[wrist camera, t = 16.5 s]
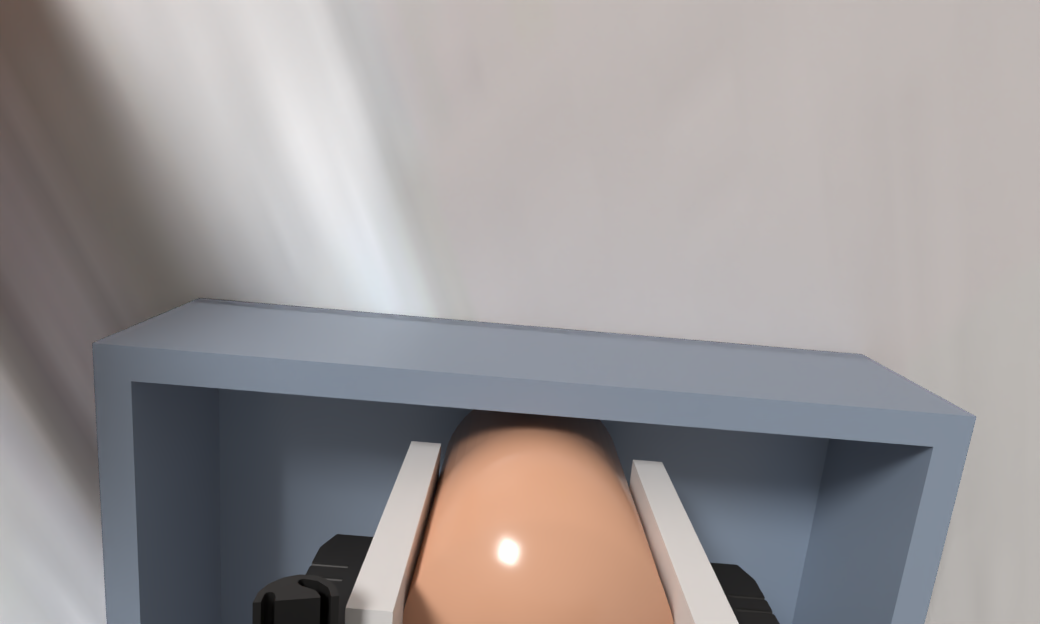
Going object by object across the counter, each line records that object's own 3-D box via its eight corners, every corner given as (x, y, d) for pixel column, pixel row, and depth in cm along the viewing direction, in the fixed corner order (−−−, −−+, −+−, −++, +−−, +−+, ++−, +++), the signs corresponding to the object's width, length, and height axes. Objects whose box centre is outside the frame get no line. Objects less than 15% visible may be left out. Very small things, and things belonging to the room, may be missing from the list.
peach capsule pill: (437, 545, 19) (391, 751, 12) (449, 382, 18) (406, 508, 11) (608, 559, 19) (655, 771, 13) (629, 397, 18) (693, 533, 12)
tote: (206, 745, 23) (121, 904, 18) (199, 297, 19) (92, 342, 14) (773, 783, 23) (842, 948, 18) (862, 354, 20) (976, 416, 15)
